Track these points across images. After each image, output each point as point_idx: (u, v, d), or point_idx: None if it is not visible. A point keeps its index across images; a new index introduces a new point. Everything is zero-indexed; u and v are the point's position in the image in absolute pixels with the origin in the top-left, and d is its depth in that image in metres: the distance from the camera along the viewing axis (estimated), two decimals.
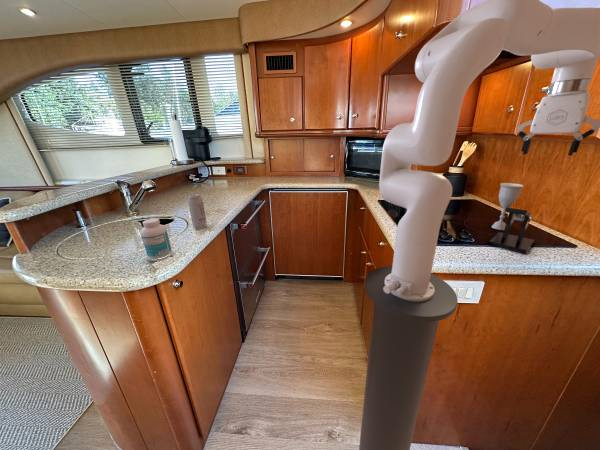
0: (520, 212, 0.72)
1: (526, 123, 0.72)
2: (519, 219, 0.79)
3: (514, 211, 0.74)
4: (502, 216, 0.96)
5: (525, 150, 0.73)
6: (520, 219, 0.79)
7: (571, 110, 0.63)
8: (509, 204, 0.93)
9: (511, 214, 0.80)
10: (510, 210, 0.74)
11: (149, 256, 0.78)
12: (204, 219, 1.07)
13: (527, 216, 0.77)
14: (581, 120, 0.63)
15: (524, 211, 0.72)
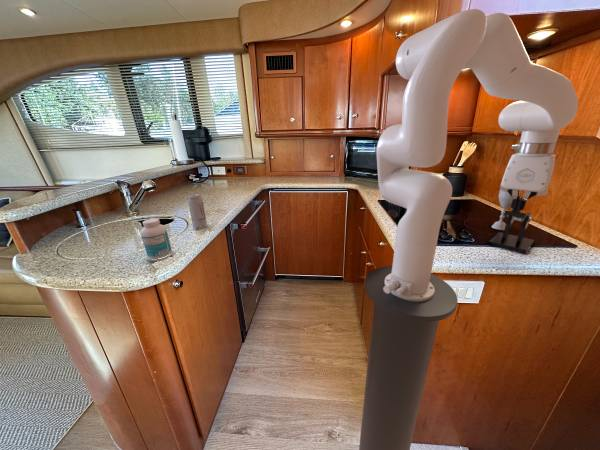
0: (519, 215, 0.73)
1: None
2: (519, 219, 0.79)
3: (513, 214, 0.74)
4: (502, 216, 0.96)
5: (514, 208, 0.73)
6: (520, 219, 0.79)
7: (538, 170, 0.66)
8: (509, 204, 0.93)
9: None
10: (509, 213, 0.74)
11: (149, 256, 0.78)
12: (204, 219, 1.07)
13: (527, 216, 0.77)
14: (547, 181, 0.65)
15: (523, 214, 0.72)
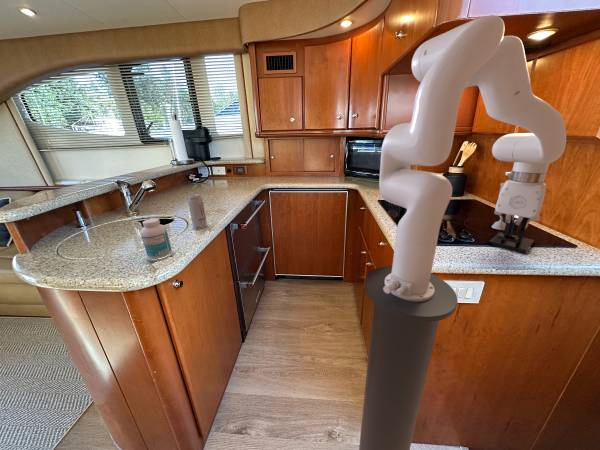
0: (511, 241, 0.76)
1: None
2: None
3: (506, 240, 0.77)
4: None
5: (507, 232, 0.76)
6: None
7: (529, 198, 0.69)
8: None
9: None
10: (502, 238, 0.78)
11: (149, 256, 0.78)
12: (204, 219, 1.07)
13: None
14: (538, 208, 0.68)
15: (515, 241, 0.76)
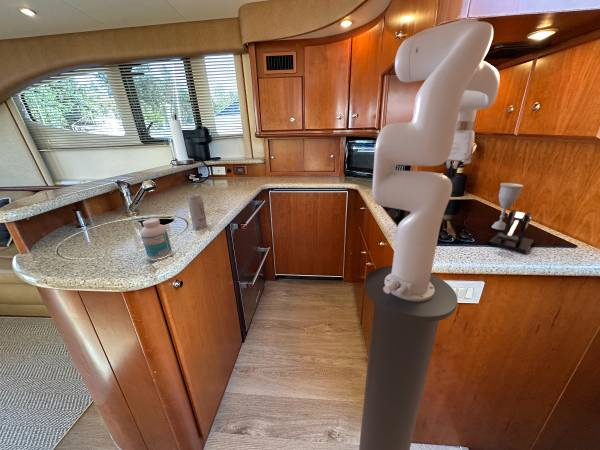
0: (511, 241, 0.76)
1: None
2: None
3: (506, 239, 0.77)
4: (502, 216, 0.96)
5: (448, 175, 0.91)
6: (519, 222, 0.80)
7: (461, 143, 0.84)
8: (509, 204, 0.93)
9: (511, 214, 0.80)
10: (502, 238, 0.78)
11: (149, 256, 0.78)
12: (204, 219, 1.07)
13: (527, 216, 0.77)
14: (468, 151, 0.83)
15: (515, 241, 0.76)
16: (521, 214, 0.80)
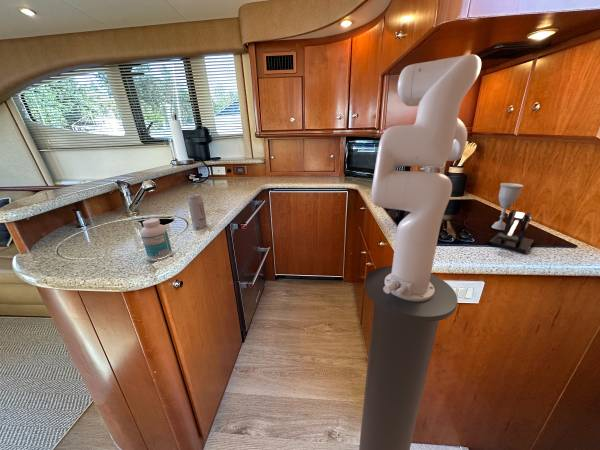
0: (511, 241, 0.76)
1: None
2: None
3: (506, 239, 0.77)
4: (502, 216, 0.96)
5: None
6: (519, 222, 0.80)
7: None
8: (509, 204, 0.93)
9: (511, 214, 0.80)
10: (502, 238, 0.78)
11: (149, 256, 0.78)
12: (204, 219, 1.07)
13: (527, 216, 0.77)
14: None
15: (515, 241, 0.76)
16: (521, 214, 0.80)
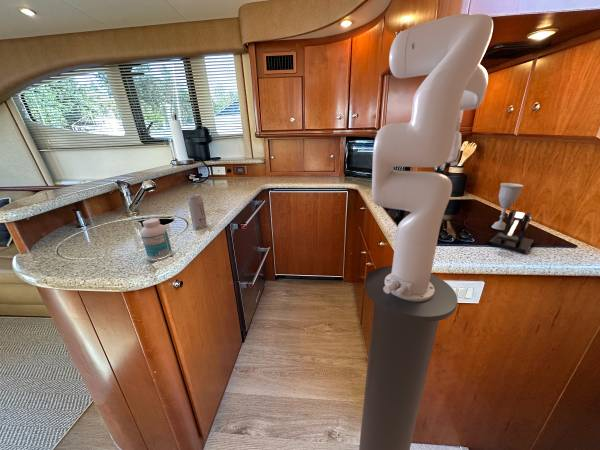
0: (511, 241, 0.76)
1: None
2: None
3: (506, 239, 0.77)
4: (502, 216, 0.96)
5: None
6: (519, 222, 0.80)
7: None
8: (509, 204, 0.93)
9: (511, 214, 0.80)
10: (502, 238, 0.78)
11: (149, 256, 0.78)
12: (204, 219, 1.07)
13: (527, 216, 0.77)
14: (455, 153, 0.82)
15: (515, 241, 0.76)
16: (521, 214, 0.80)
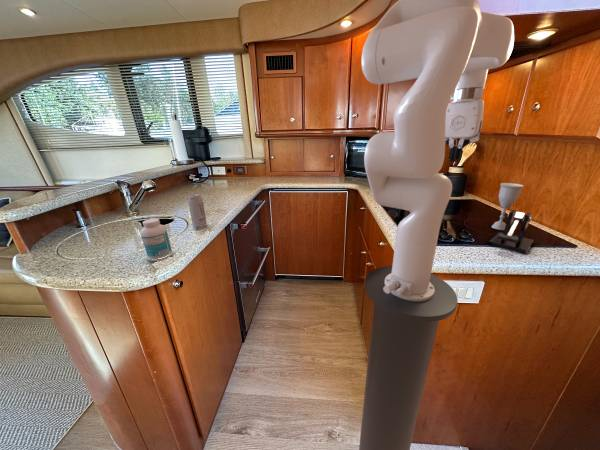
0: (511, 241, 0.76)
1: None
2: None
3: (506, 239, 0.77)
4: (502, 216, 0.96)
5: (451, 158, 0.75)
6: (519, 222, 0.80)
7: (468, 116, 0.68)
8: (509, 204, 0.93)
9: (511, 214, 0.80)
10: (502, 238, 0.78)
11: (149, 256, 0.78)
12: (204, 219, 1.07)
13: (527, 216, 0.77)
14: (476, 125, 0.67)
15: (515, 241, 0.76)
16: (521, 214, 0.80)
